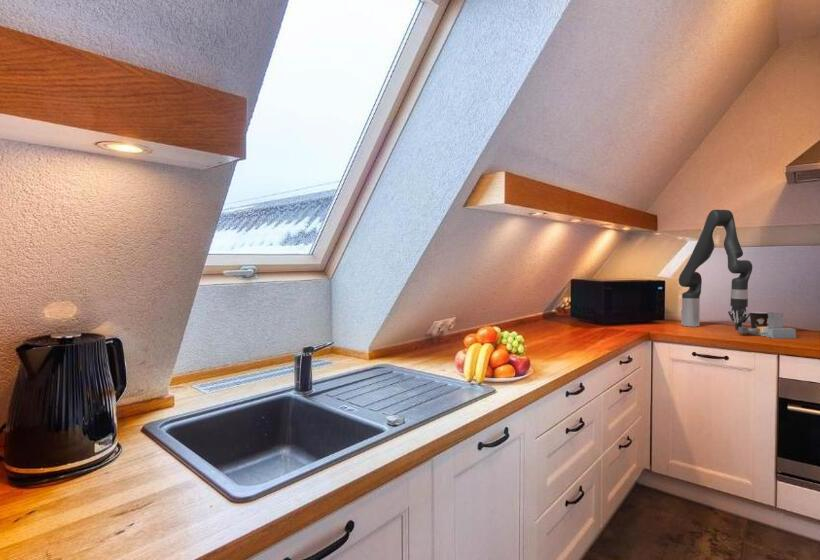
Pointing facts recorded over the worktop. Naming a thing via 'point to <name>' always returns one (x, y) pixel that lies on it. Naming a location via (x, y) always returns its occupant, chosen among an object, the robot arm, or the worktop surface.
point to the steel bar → (775, 320)
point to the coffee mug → (758, 319)
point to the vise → (778, 333)
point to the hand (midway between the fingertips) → (738, 330)
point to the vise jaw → (753, 329)
